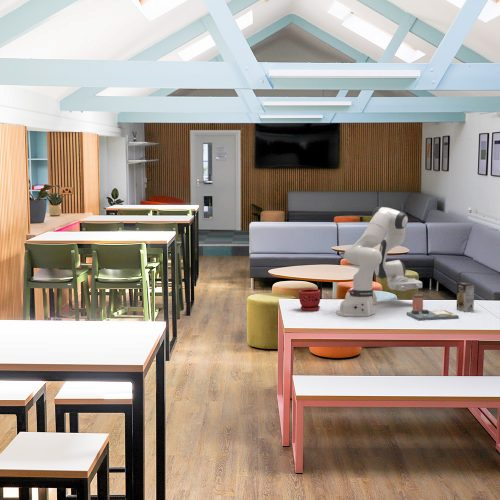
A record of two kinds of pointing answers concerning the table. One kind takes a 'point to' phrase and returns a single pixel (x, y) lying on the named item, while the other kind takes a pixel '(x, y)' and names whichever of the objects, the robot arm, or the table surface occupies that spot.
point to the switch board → (432, 315)
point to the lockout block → (418, 302)
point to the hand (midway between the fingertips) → (410, 287)
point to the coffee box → (465, 296)
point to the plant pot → (310, 299)
